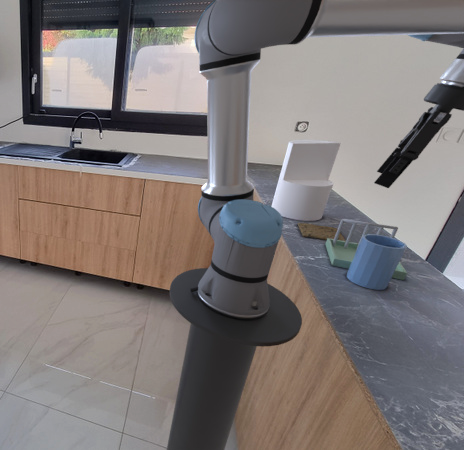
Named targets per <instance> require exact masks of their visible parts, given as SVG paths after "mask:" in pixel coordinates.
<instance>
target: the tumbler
mask: <svg viewBox="0 0 464 450" xmlns="http://www.w3.org/2000/svg"><path fill="white" fill-rule="evenodd" d="M361 237H362V236H361ZM360 239H361V238H360ZM359 242H360V244H359V243H358V244H359V246H358V248H357V251H356V253H355V256H354V258H353V260H352V263H351V265H350V268H349V269H348V270H347V273H346V278H347V280H349V281H350V282H352V283H353V284H355V285H357V286H360V287H363V288H366V289H371V290H376V291H377V290H378V291H381V290H386V289H387V288H388V286H389V284H390V282H391V280H392V279H393V278H392V276H393V274H394V272H395V270H396V268H397V266H398V264H399V262H400V263H401V260H402V258H403V256H404V253H405V251H406V250H407V248H408V245H407V244H406V243H405V242H403V241H401V240H399V239H396V238H395V237H394V238H391V237H390V236H386V235H382V234H381V235H377V233H376V234H373V233H367V234H366V235H364V236H363V237H362V239H361V241H360V240H359Z"/></svg>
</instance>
